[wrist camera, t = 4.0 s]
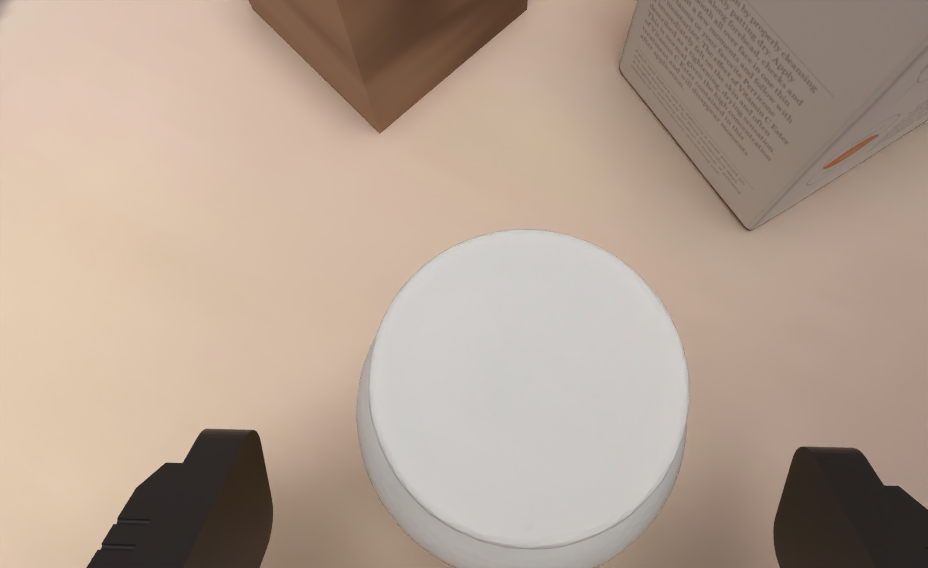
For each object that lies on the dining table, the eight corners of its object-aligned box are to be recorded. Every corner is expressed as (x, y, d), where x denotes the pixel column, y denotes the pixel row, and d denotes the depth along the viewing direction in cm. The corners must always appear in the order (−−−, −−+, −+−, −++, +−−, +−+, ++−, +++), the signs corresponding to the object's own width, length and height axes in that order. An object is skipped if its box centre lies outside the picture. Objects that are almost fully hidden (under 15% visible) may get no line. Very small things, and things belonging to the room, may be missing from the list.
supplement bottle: (608, 562, 17) (747, 658, 8) (390, 532, 17) (270, 588, 8) (622, 344, 18) (754, 201, 9) (421, 321, 19) (350, 161, 9)
